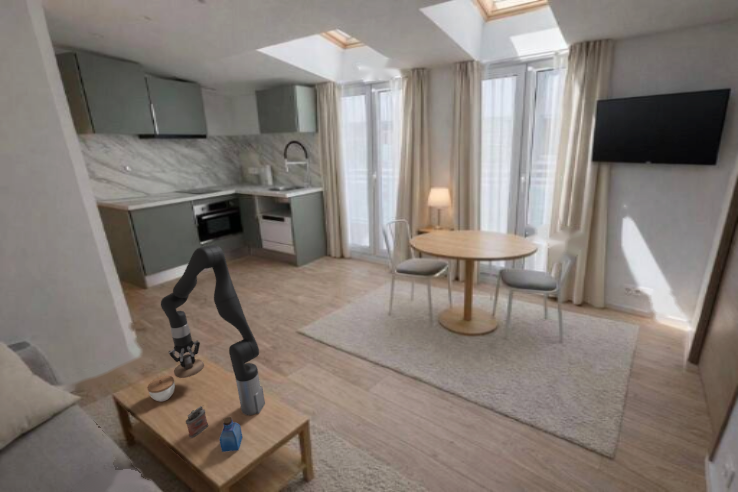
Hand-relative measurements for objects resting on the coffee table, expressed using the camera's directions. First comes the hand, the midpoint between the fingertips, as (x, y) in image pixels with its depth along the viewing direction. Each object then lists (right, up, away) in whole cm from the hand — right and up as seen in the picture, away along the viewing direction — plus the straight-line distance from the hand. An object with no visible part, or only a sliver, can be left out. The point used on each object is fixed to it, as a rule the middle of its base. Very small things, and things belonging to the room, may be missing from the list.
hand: (188, 364), depth 172 cm
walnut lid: (0, -2, +1) cm, 2 cm away
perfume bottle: (+33, -21, -32) cm, 50 cm away
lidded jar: (-9, -14, -4) cm, 17 cm away
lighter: (+17, -19, -24) cm, 35 cm away
